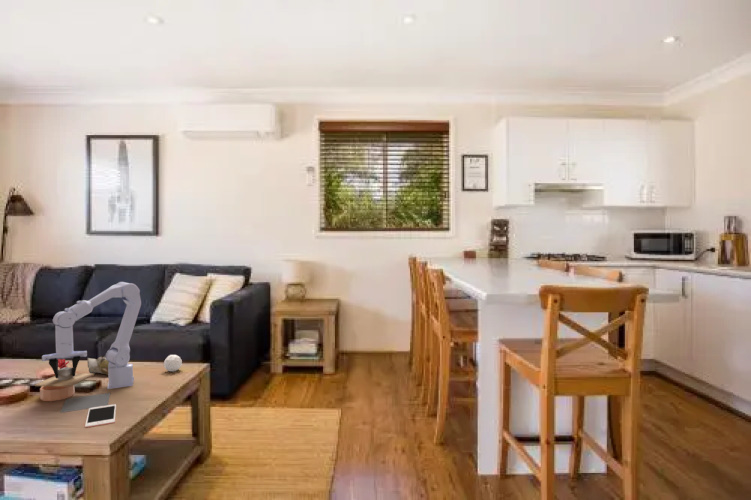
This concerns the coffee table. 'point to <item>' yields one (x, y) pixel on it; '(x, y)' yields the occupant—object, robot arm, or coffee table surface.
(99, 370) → the ceramic sculpture
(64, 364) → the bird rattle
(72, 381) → the oak lid
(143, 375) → the coffee table surface
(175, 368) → the geometric ball
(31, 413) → the coffee table surface
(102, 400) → the rubber mat
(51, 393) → the terracotta bowl
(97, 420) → the cell phone
